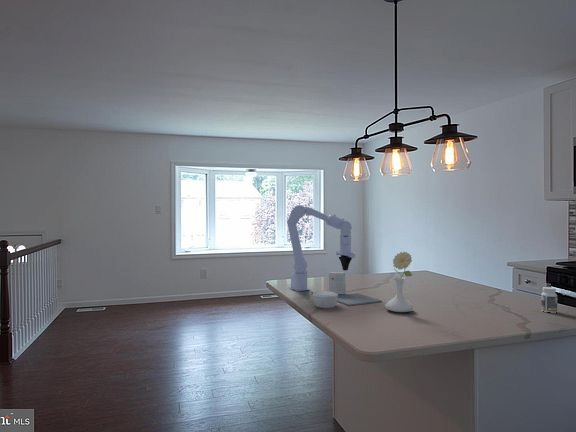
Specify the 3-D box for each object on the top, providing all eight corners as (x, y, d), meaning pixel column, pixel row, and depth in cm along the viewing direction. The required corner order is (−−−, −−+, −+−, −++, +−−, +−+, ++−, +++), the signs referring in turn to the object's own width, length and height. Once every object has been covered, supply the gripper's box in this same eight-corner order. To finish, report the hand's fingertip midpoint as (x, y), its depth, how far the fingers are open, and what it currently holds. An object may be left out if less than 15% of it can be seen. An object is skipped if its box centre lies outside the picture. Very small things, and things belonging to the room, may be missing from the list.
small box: (345, 293, 201) (345, 272, 202) (345, 294, 195) (345, 272, 197) (329, 293, 202) (329, 272, 203) (329, 294, 196) (329, 272, 198)
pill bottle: (558, 311, 167) (559, 287, 167) (555, 314, 163) (555, 289, 163) (542, 309, 171) (543, 286, 171) (539, 311, 167) (539, 287, 167)
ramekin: (315, 309, 170) (315, 297, 170) (309, 303, 181) (309, 291, 181) (341, 308, 172) (341, 296, 172) (334, 302, 183) (334, 290, 183)
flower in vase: (379, 309, 171) (380, 249, 170) (401, 306, 175) (402, 249, 174) (399, 316, 159) (399, 253, 158) (422, 314, 163) (423, 252, 162)
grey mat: (326, 297, 192) (326, 296, 192) (358, 294, 200) (358, 293, 200) (348, 305, 176) (348, 304, 176) (381, 301, 184) (381, 300, 184)
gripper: (360, 245, 205) (360, 271, 205) (344, 242, 218) (343, 267, 218) (348, 245, 201) (348, 272, 202) (332, 243, 214) (332, 268, 215)
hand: (345, 270), depth 210 cm, fingers closed
